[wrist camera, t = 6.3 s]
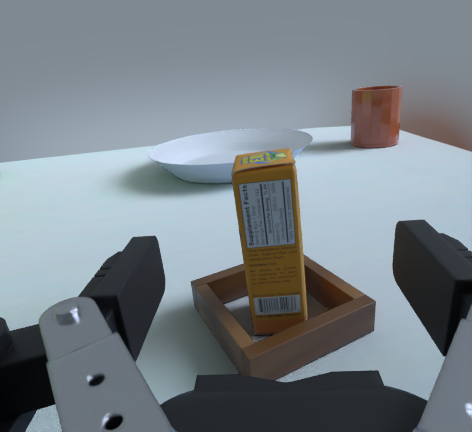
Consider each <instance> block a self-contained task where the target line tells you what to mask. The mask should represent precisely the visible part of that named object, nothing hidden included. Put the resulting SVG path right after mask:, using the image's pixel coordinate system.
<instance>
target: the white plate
mask: <svg viewBox="0 0 472 432" xmlns="http://www.w3.org/2000/svg"><path fill="white" fill-rule="evenodd" d="M312 139H313V138H312V136H311V135H310V134H308V133H305V132H302V131H297V130H290V129H279V128H278V129H277V128H254V129H253V128H252V129H236V130H226V131H217V132H209V133H203V134H197V135H192V136H187V137H183V138H179V139H175V140H171V141H168V142H165V143H162V144H160V145H157V146H155V147H153V148H152V149H150V150H149V151H148V153H147V156H148V157H149V158H150V159H151V160H154V161H156V162H157V163H159V164H160V165H161V166H163V167H164V168H166V169H167V170H168V171H170V172H171V173H172V174H174V175H175V176H177V177H178V178H180V179H182V180H185V181H189V182H195V183H210V184H217V183H232V176H231V173H232V169H233V165H234V162H235V158H236V156H237V155H242V154H247V153H254V152H261V151H269V150H279V149H287V148H291V150H292V155H293V159H294V158H295V157H296V156H297V155H298V154H299V153H300V152H301V151H302V150H303V148H304V147H305V146H307V145H308V144H309V143H310V142H311V141H312Z"/></svg>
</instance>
